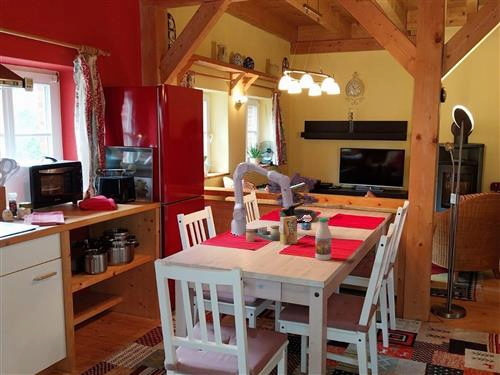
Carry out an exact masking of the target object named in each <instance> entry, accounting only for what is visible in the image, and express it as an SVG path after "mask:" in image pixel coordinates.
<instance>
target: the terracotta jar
mask: <svg viewBox="0 0 500 375" xmlns="http://www.w3.org/2000/svg"><path fill="white" fill-rule="evenodd" d="M255 229H256V228H246V234H245V241H246V242H249V243H251V242H255V241H256V240H255V238H256V237H255Z"/></svg>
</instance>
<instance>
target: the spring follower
mask: <svg viewBox="0 0 500 375" xmlns="http://www.w3.org/2000/svg"><path fill="white" fill-rule="evenodd" d="M257 228H258V234H262V235H265V234H267V231H268V226H262V227H257Z"/></svg>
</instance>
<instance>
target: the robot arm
mask: <svg viewBox="0 0 500 375" xmlns="http://www.w3.org/2000/svg"><path fill="white" fill-rule="evenodd" d="M235 168H236V169H235V170H234V173H233V176H232V178H233V179H232V180H233V190H234V207H233V213H232V217H233V219H232V221H231V222H230V223H231V224H230V225H231V227H230V228H231V231H230V234H231V233H232V234H231V235H234V234H235V236H237V235H238V236H244V235H246V229H247V215H248V211H247V208H246V205H245V201H244V190H243V188H244V186H243V177H244V176H245V175H246V174H248V173H251V172H256V173H258V174H261V175H262V176H266V177H267V179H268V180H270V182H272V181H273V182H276V183H279V185H280V186H281V192H282V198H283V206H284V207H283V209H282V211H283V212H284V213H285V215H286V217H290V216H294V210H295V209H296V208H295V205H296V204H295V203H293V199H292V192H291V189H292V187H291V186H290V179H291V177H289V176H288V175H284V174H283V173H279V172H277V170H270V171H269V169H266V168H264V167H262V166H260V165H258V164H256V163H254V162H251V161H243V162H241V163H239V164H237V166H236V167H235ZM238 236H237V237H238Z"/></svg>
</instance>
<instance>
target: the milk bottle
mask: <svg viewBox="0 0 500 375" xmlns="http://www.w3.org/2000/svg"><path fill="white" fill-rule="evenodd" d="M314 249H315V252H314V253H315V254H314V257H315V259H316V260H318V261H329V260H331V259H332V232H331V230H330V227H329V218H327V217H319V218H318V226H317V229H316V232H315V248H314Z"/></svg>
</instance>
